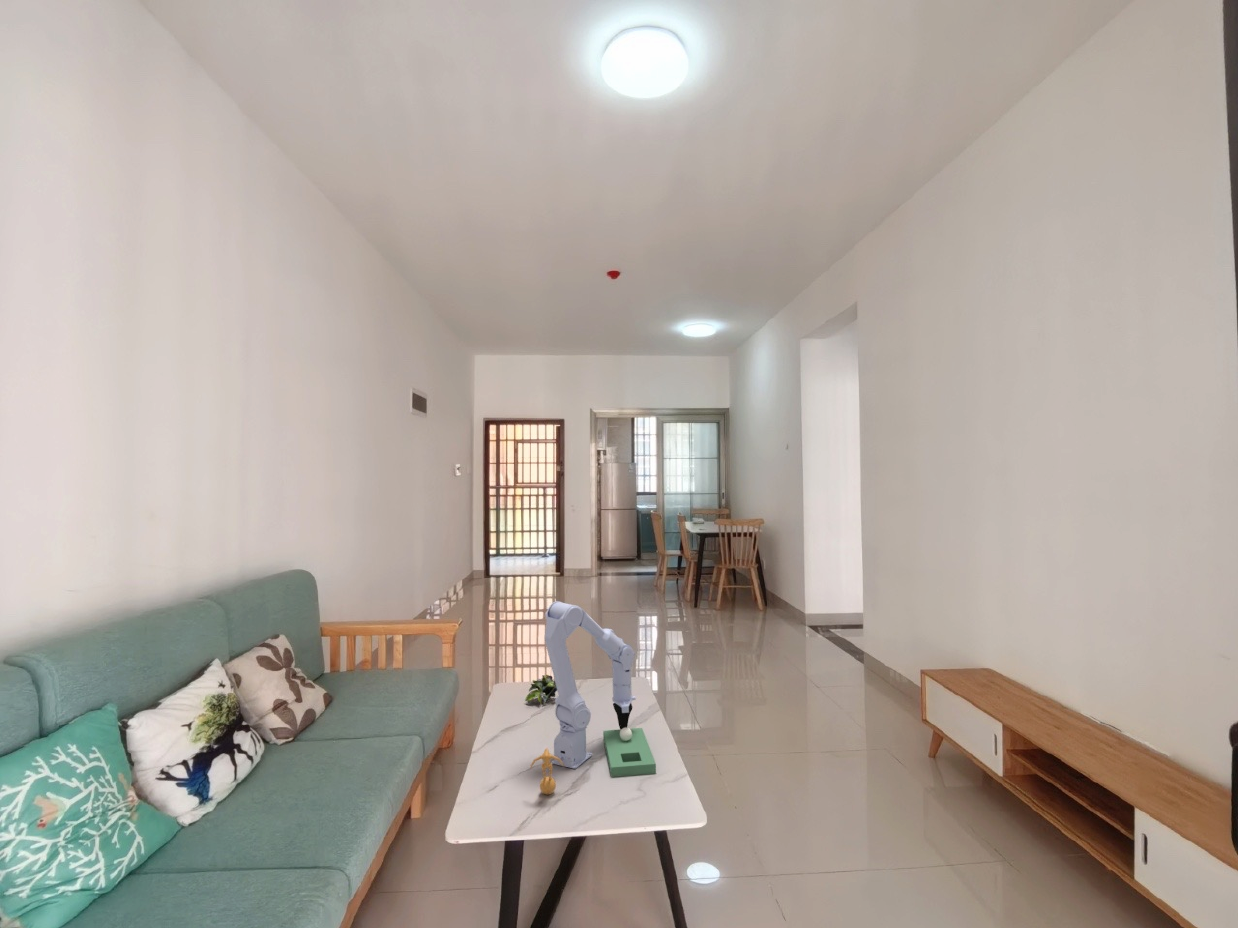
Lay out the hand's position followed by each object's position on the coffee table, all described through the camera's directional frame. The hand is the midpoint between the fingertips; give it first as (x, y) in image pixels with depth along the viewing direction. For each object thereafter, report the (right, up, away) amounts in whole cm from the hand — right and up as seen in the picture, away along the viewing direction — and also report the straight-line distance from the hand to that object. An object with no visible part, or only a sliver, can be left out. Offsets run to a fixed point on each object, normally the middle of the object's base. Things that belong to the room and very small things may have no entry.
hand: (623, 728), depth 181 cm
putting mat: (+1, -3, -11) cm, 11 cm away
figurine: (-19, -3, -32) cm, 37 cm away
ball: (+1, +1, -7) cm, 7 cm away
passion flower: (-28, -6, +33) cm, 44 cm away
